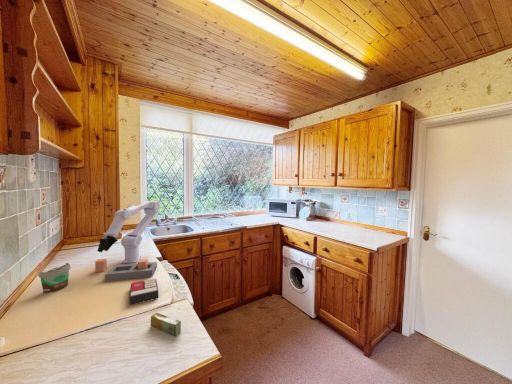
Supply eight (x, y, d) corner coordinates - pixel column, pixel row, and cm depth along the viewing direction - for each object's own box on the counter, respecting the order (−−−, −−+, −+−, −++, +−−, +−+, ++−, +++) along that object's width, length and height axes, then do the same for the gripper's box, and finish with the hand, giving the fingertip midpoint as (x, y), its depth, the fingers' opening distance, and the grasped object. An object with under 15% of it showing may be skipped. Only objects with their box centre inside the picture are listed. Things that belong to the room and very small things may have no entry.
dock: (114, 271, 121) (114, 259, 120) (157, 267, 126) (156, 255, 126) (105, 281, 109) (104, 267, 109) (152, 276, 114) (151, 263, 114)
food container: (50, 295, 95) (48, 273, 95) (39, 294, 97) (38, 272, 96) (78, 282, 107) (77, 263, 107) (68, 281, 109) (67, 262, 108)
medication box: (181, 332, 74) (181, 320, 73) (175, 337, 71) (175, 325, 71) (156, 322, 78) (156, 311, 78) (150, 327, 76) (149, 316, 76)
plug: (98, 269, 123) (98, 259, 123) (106, 268, 124) (106, 258, 124) (95, 272, 119) (95, 261, 119) (103, 271, 120) (103, 261, 120)
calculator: (156, 277, 107) (158, 289, 94) (156, 285, 107) (158, 298, 94) (130, 281, 102) (129, 295, 89) (131, 290, 102) (129, 305, 89)
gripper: (103, 227, 125) (89, 249, 118) (113, 223, 117) (99, 246, 110) (114, 232, 130) (102, 254, 122) (125, 228, 122) (113, 251, 114)
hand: (102, 251), depth 116 cm, fingers open, 7 cm apart
